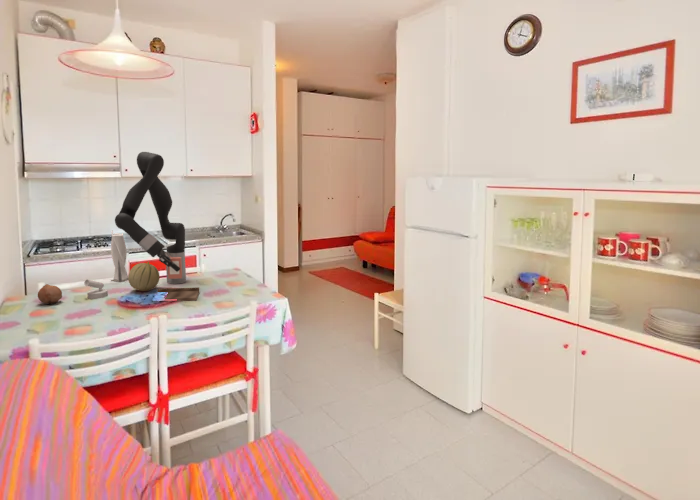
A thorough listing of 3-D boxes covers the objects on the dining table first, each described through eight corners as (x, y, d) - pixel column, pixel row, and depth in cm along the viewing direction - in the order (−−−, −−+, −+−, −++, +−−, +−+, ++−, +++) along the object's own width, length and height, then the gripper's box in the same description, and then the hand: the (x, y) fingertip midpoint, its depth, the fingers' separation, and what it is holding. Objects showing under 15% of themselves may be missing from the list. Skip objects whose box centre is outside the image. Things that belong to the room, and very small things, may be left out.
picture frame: (168, 278, 216) (167, 258, 215) (169, 277, 220) (168, 257, 218) (181, 278, 218) (180, 258, 216) (182, 276, 221) (181, 257, 219)
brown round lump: (45, 308, 210) (39, 288, 210) (67, 301, 213) (61, 281, 213) (38, 307, 201) (31, 286, 201) (60, 299, 204) (54, 279, 204)
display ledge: (152, 302, 212) (151, 296, 212) (157, 294, 225) (157, 288, 224) (196, 300, 216) (195, 294, 216) (199, 293, 229) (199, 287, 228)
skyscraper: (109, 280, 249) (104, 231, 244) (121, 277, 256) (117, 229, 251) (120, 282, 246) (116, 232, 241) (132, 279, 253) (128, 230, 248)
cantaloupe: (122, 292, 227) (120, 263, 225) (145, 285, 241) (143, 258, 238) (144, 296, 222) (142, 266, 219) (166, 288, 235) (165, 261, 233)
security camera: (79, 278, 215) (98, 274, 224) (81, 297, 217) (100, 292, 226) (91, 281, 212) (110, 276, 221) (92, 300, 214) (111, 295, 222)
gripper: (153, 242, 207) (182, 267, 212) (160, 237, 220) (187, 261, 225) (142, 253, 207) (171, 278, 211) (149, 248, 220) (176, 271, 225)
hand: (179, 269), depth 218 cm, fingers closed on picture frame, 3 cm apart
